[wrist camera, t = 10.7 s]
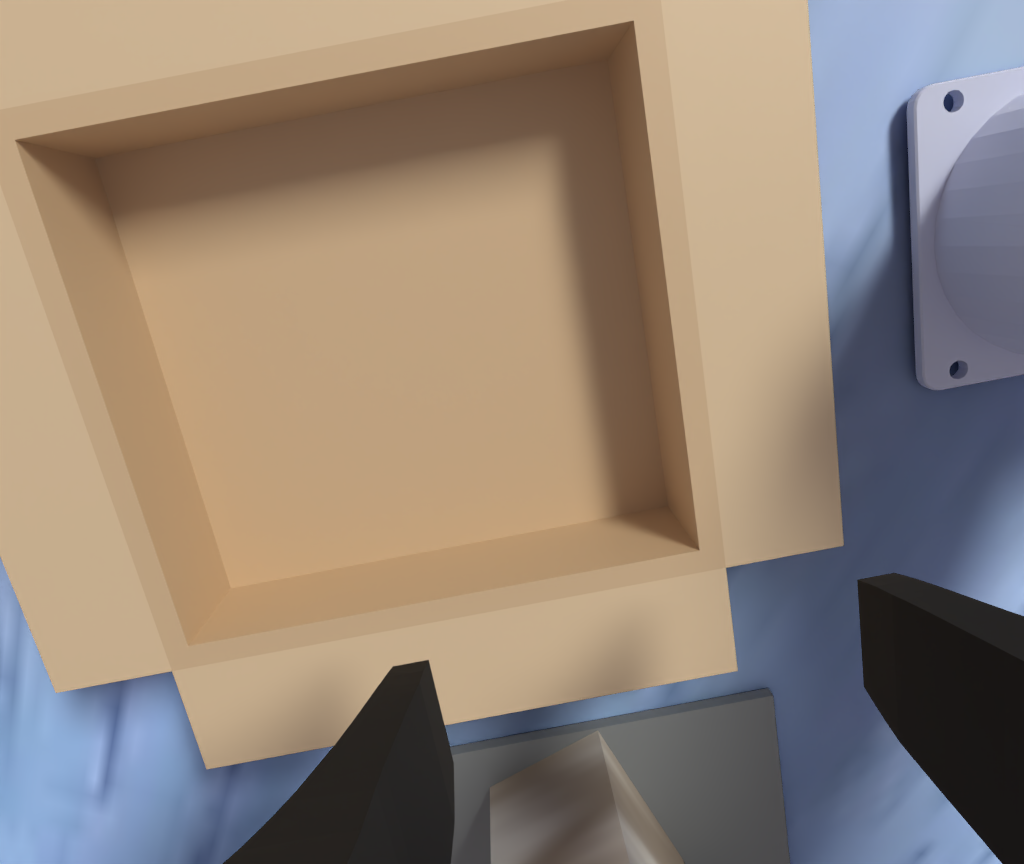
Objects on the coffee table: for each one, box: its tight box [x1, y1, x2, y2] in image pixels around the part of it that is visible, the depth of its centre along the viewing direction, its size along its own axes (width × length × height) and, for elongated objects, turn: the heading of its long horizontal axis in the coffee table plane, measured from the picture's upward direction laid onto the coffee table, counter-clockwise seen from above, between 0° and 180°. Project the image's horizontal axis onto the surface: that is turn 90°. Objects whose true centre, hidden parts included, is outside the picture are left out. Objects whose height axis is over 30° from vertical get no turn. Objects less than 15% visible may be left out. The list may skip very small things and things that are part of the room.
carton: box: [0, 0, 844, 769], centre depth 18 cm, size 20×19×4 cm
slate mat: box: [450, 688, 790, 864], centre depth 24 cm, size 12×10×1 cm
